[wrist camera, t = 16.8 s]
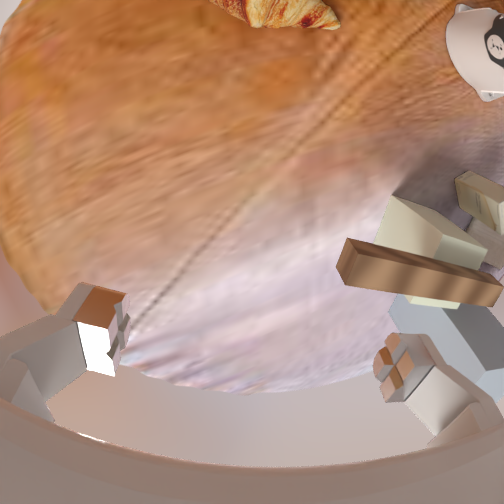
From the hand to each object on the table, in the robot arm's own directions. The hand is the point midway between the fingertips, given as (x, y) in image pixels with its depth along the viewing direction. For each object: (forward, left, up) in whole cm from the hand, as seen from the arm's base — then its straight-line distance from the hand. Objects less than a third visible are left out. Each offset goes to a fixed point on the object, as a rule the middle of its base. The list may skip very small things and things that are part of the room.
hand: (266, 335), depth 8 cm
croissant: (-9, -21, -36) cm, 42 cm away
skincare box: (-36, +15, -35) cm, 53 cm away
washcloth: (-44, +27, -36) cm, 63 cm away
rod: (-18, +17, -20) cm, 32 cm away
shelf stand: (-27, +36, -35) cm, 57 cm away
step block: (-22, +19, -35) cm, 45 cm away
